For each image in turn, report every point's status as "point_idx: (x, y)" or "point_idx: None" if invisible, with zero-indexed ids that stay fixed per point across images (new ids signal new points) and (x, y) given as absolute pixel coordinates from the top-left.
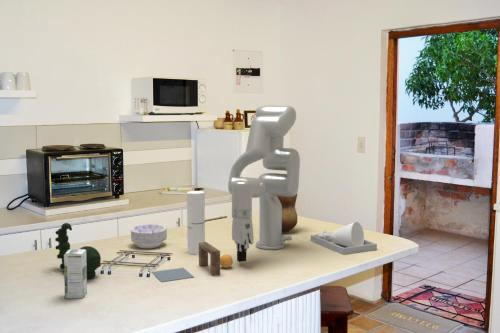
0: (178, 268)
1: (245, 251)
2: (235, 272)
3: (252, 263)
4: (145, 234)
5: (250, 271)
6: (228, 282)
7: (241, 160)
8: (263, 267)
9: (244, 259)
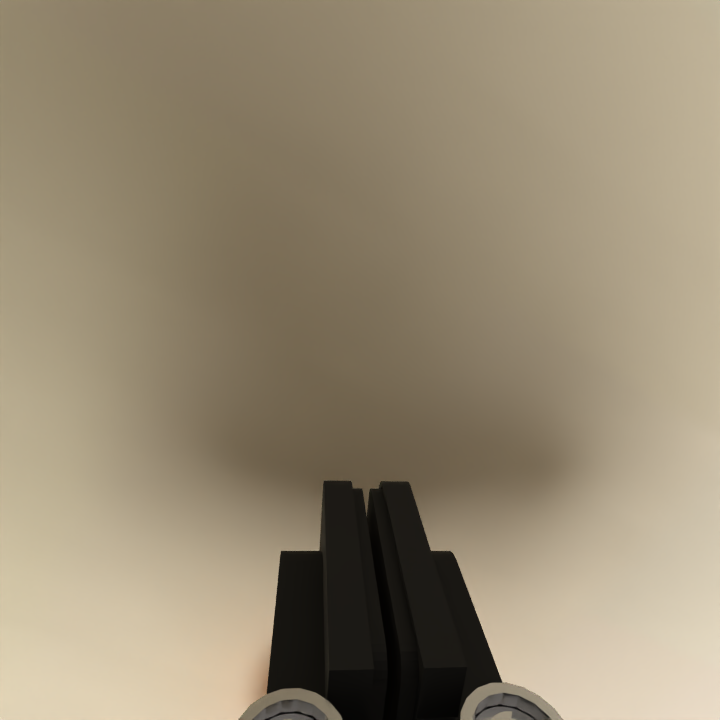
0: None
1: (453, 673)
2: (575, 663)
3: (338, 283)
4: None
5: (671, 503)
6: None
7: None
8: (658, 229)
9: (447, 558)
